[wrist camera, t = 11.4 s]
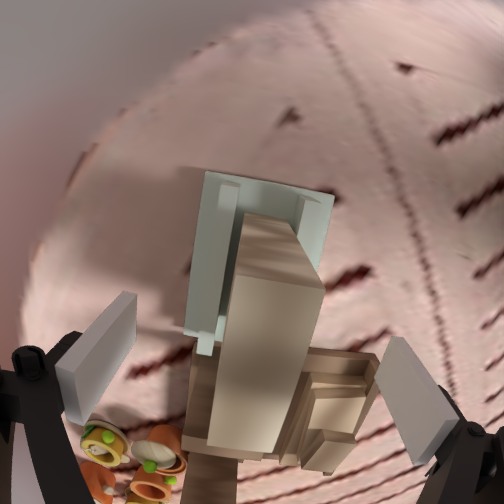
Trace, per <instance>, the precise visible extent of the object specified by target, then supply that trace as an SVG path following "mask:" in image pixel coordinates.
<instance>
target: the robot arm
mask: <svg viewBox="0 0 504 504" xmlns="http://www.w3.org/2000/svg"><path fill="white" fill-rule="evenodd" d="M136 315H137V294H134V293H130V292H126V291H123V292H122V293H121V294H120V295H119V296H118V297H117V298H116V299H115V300H114V301H113V302H112V303H111V304H110V305H109V306H108V307H107V308H106V309H105V311H104V312H103V313H102V314H101V315H100V316H99V317H98V318H97V319H96V320H95V321H94V322H93V323H92V324H91V326H90V327H89V328H88V329H87V330H86V331H85V332H84V333H80V332H77V331H73V332H71V333H69V334H67V335H65V336H64V337H63V338H62V339H61V340H60V341H59V343H57V344H56V345H55V346H54V348H52V349H51V350H50V351H49V352H48V353H47V354H46V355H45V353H44V351H43V350H42V349H41V348H39V347H36V346H28V345H27V346H22V347H20V348H18V349H16V350H15V351H14V352H13V353H12V362H13V366H14V370H15V372H13V371H8V370H2V369H1V367H0V504H11V475H12V474H11V472H12V455H13V441H14V432H15V423H16V422H18V423H22V424H24V428H25V433H26V438H27V442H28V446H29V450H30V454H31V458H32V462H33V466H34V469H35V473H36V476H37V480H38V483H39V486H40V489H41V492H42V495H43V498H44V501H45V504H96V503H95V501H94V499H93V497H92V495H91V492H90V490H89V488H88V486H87V484H86V481H85V479H84V477H83V475H82V472H81V470H80V467H79V465H78V462H77V460H76V457H75V455H74V452H73V450H72V447H71V444H70V441H69V439H68V436H67V433H66V430H65V427H64V424H63V421H62V418H61V414H62V413H63V411H65V415H66V419H67V420H68V421H71V422H73V423H76V424H79V425H81V426H85V424H86V422H87V420H88V419H89V417H90V415H91V414H92V412H93V410H94V408H95V407H96V405H97V403H98V402H99V400H100V398H101V397H102V395H103V393H104V392H105V390H106V388H107V387H108V385H109V383H110V382H111V380H112V378H113V377H114V375H115V374H116V372H117V370H118V369H119V367H120V365H121V364H122V362H123V361H124V359H125V357H126V356H127V354H128V353H129V351H130V349H131V348H132V346H133V345H134V343H135V342H136ZM374 379H375V381H376V383H377V385H378V387H379V389H380V391H381V394H382V396H383V398H384V400H385V402H386V404H387V407H388V409H389V411H390V413H391V415H392V418H393V420H394V422H395V424H396V427H397V429H398V431H399V433H400V436H401V438H402V440H403V442H404V445H405V447H406V449H407V452H408V454H409V456H410V459H411V461H412V464H413V465H421V464H427V463H428V462H429V461H430V459H431V458H432V457H433V456H434V454H435V456H436V458H437V461H436V462H435V464H434V465H433V466H432V467H431V468H430V470H429V471H428V472H427V473H426V475H425V477H427V476H428V474H429V476H428V479H427V481H426V483H425V486H424V488H423V490H422V492H421V494H420V497H419V499H418V501H417V503H416V504H504V426H502V427H500V428H499V430H498V431H497V433H496V434H489V433H486V432H485V430H484V428H483V427H482V426H481V425H479V424H478V423H475V422H472V421H469V422H467V420H466V419H465V417H464V416H463V414H462V413H461V411H460V410H459V408H458V407H457V405H455V402H454V401H453V399H451V396H450V395H449V394H448V392H447V391H446V390H445V389H444V388H442V387H441V386H440V385H437V384H436V382H435V381H434V380H433V378H432V377H431V375H430V374H429V372H428V371H427V369H426V368H425V367H424V365H423V364H422V362H421V361H420V360H419V358H418V357H417V355H416V354H415V353H414V351H413V350H412V348H411V347H410V346H409V344H408V343H407V342H406V340H405V339H404V337H395V336H391V339H390V341H389V344H388V346H387V349H386V351H385V353H384V356H383V358H382V360H381V363H380V365H379V367H378V370H377V372H376V374H375V376H374ZM495 470H496V473H495V475H494V471H495Z"/></svg>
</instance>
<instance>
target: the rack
mask: <svg viewBox="0 0 504 504" xmlns="http://www.w3.org/2000/svg"><path fill="white" fill-rule="evenodd" d="M197 344H198V342H195V344H194V347H193V350H192V359H191V369H190V378H189V388H188V398H187V409H186V420H185V425H184V429H183V433H182V443H181V450H186V451H187V453H188V455H189V458H188V463H187V468H186V474H185V479H184V484H183V490H182V495H181V501H180V504H236V492H237V468H238V462H239V463H243V461H244V459H245V460H255V461H261V459H262V458H263V459H276V460H279V464H280V465H291V466H301V469H303V470H311V471H320V472H323V476H331V475H332V474H333V472H334V471H335V469H336V468H337V467H338V466H339V464H340V463H341V462H342V461H343V460H344V459H345V458H346V457H347V456H348V454H349V453H350V452H351V451H352V450H353V449H354V447H355V446H356V445H357V443H356V440H355V436H356V434H357V432H358V430H359V428H360V427H361V425H362V423H363V421H364V419H365V417H366V415H367V414H368V412H369V410H370V408H371V406H372V404H373V402H374V400H375V398H376V396H377V394H378V392H379V390H380V389H379V387H378V385H377V383H376V381H375V379H374V376H375V374H376V372H377V370H378V367H379V365H380V362H379V360H378V358H377V357H376V355H375V354H371V353H359V352H348V351H337V350H328V349H318V348H310V347H309V349H308V352H307V355H306V358H305V361H304V364H303V367H302V370H301V373H300V376H299V379H298V382H297V385H296V388H295V391H294V394H293V397H292V400H291V403H290V406H289V408H288V411H287V414H286V417H285V420H284V422H283V425H282V428H281V430H280V433H279V436H278V438H277V441H276V444H275V446H274V449H273V451H272V453H266V452H255V451H246V450H237V449H230V448H222V447H216V446H209V445H207V440H208V433H209V426H210V419H211V412H212V406H213V399H214V392H215V386H216V379H217V373H218V366H219V360H220V353H221V347H222V342H220V341H215V340H214V346H213V351H212V356H208V355H202V354H197V353H196V352H197Z"/></svg>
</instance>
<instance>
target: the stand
mask: <svg viewBox="0 0 504 504" xmlns="http://www.w3.org/2000/svg"><path fill="white" fill-rule="evenodd" d="M334 198H335V196H334V195H331V194H327V193H322V192H318V191H313V190H308V189H304V188H299V187H294V186H289V185H284V184H279V183H274V182H268V181H263V180H258V179H252V178H246V177H241V176H235V175H229V174H223V173H217V172H211V171H205V176H204V182H203V189H202V195H201V201H200V208H199V214H198V221H197V228H196V235H195V242H194V249H193V256H192V264H191V272H190V280H189V288H188V296H187V305H186V314H185V324H184V333H183V335H188V336H193V337H198V344H197V352H196V353H197V354H202V355H208V356H212V351H213V346H214V340H215V341H220V342H222V340H223V334H224V328H225V321H226V315H227V309H228V303H229V298H230V292H231V286H232V280H233V275H234V269H235V263H236V258H237V252H238V246H239V241H240V235H241V230H242V224H243V218H244V213H245V212H251V213H257V214H262V215H267V216H273V217H278V218H284V219H287V221H288V223H289V225H290V226H291V228H292V230H293V232H294V233H295V235H296V237H297V239H298V240H299V242H300V244H301V246H302V247H303V249H304V251H305V253H306V255H307V256H308V258H309V260H310V262H311V263H312V265H313V267H314V269H315V271H316V273H317V271H318V267H319V263H320V259H321V254H322V250H323V246H324V242H325V238H326V234H327V229H328V225H329V221H330V216H331V212H332V207H333V203H334Z"/></svg>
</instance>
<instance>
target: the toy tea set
mask: <svg viewBox="0 0 504 504" xmlns="http://www.w3.org/2000/svg"><path fill="white" fill-rule="evenodd" d="M83 433H84V435H83V436H82V437H81V441H80V448H81V449H82V450H83V451H84V452H85V453H86V455H88V456H89V457H90V458H91V459H93V460H94V461H96V462H98V463H100V464H102V465H106V466H117V465H119V464H120V462H122V463H128V462H129V461H130V458H129V457H128V456H127V455H126V454H127V453H128V452H129V450H130V446H131V445H130V441H129V439H128V438H127V436H126V435H125V434H124V433H123V432H122V431H120V430H119V429H118V428H116V427H115V426H113V425H111V424H109V423H106V422H103V421H98V420H92V421H88V422H86V424H85V426H84V427H83ZM182 433H183V431H182V430H180V429H179V428H177V427H174V426H170V425H157V426H155V427H154V428H153V429H152V430H151V432H150V433H149V435H148V437H147V438H146V440H140V441H136V442H135V443H133V445H132V446H131V452H132V454H133V456H134V457H135V458H136V459H137V460H138V461H139V462H140V463H142V465H141V466H140V467H139V468H138V470H137V472H136V474H135V476H134V478H133V479H132V481H131V483H130V486H129V487H127V488H125V490H124V493H125V495H126V496H127V497H128V499H127V501H126V503H125V504H165V503H169V499H170V497H171V485H173V484H175V483H176V482H177V478H176V477H175V476H176V475H181V474H183V473H185V472H186V468H187V463H188V458H189V455H188V453H187V451H186V450H181V443H182ZM83 438H84V440H83V441H82V439H83ZM98 463H95V462H91V461H85V462H83V463H82V464H81V465H80V466H79V467H80V470H81V472H82V475H83V477H84V479H85V481H86V484H87V486H88V488H89V490H90V492H91V495H92V497H93V499H94V501H95V503H96V504H112V501H113V494H114V488H115V481H116V478H115V476H114V474H113V473H112V472H111V471H110V470H108V469H107V468H106V467H104V466H102V465H100V464H98Z"/></svg>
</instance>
